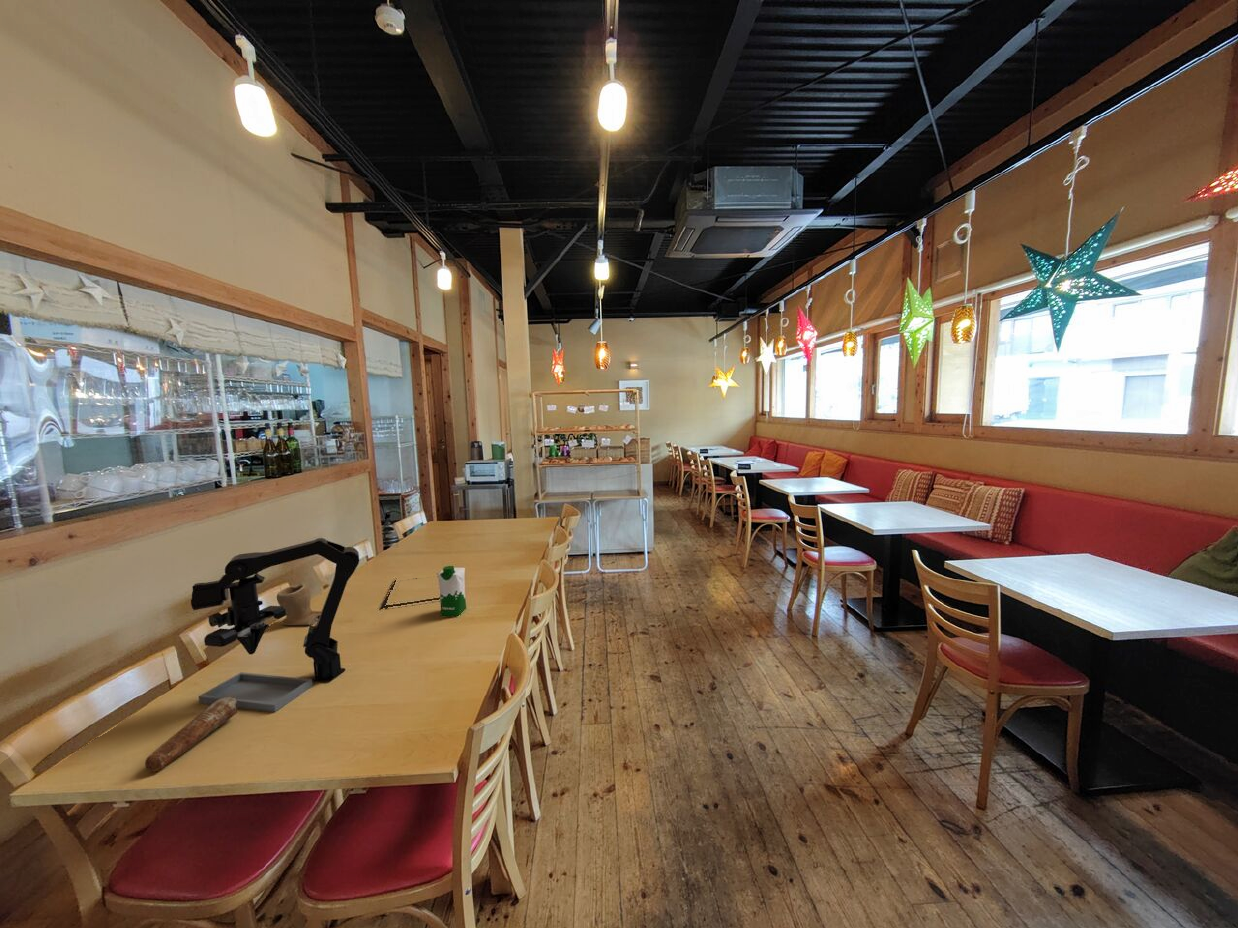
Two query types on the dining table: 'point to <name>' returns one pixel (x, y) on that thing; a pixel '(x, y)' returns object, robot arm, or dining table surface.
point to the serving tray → (258, 691)
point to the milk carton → (452, 591)
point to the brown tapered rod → (192, 733)
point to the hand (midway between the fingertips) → (251, 653)
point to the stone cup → (297, 605)
